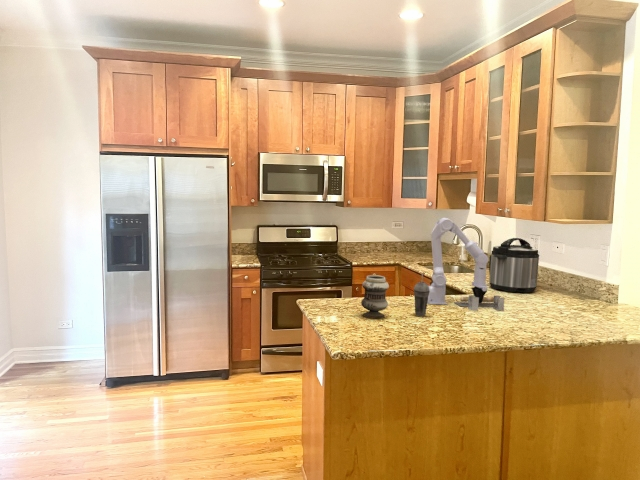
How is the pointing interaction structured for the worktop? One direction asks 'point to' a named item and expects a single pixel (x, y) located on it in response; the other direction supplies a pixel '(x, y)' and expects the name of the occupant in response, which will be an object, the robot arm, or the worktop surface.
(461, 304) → the mat
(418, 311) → the beverage cup
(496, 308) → the hook stands
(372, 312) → the apothecary jar
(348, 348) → the worktop surface
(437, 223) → the robot arm
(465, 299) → the rail
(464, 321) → the worktop surface
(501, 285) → the pressure cooker
